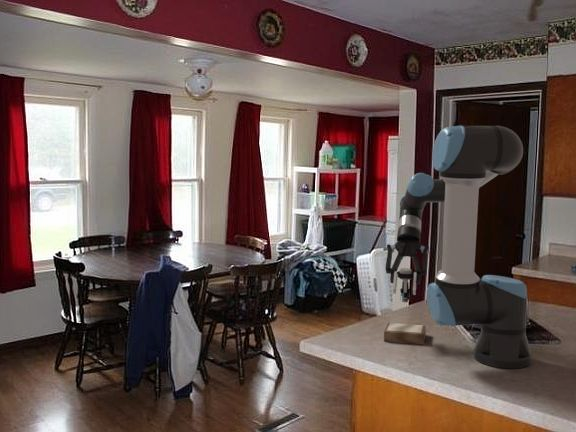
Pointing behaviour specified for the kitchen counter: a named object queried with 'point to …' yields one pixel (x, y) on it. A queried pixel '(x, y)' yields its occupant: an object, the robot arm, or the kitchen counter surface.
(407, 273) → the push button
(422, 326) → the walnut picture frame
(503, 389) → the kitchen counter surface
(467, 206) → the robot arm
